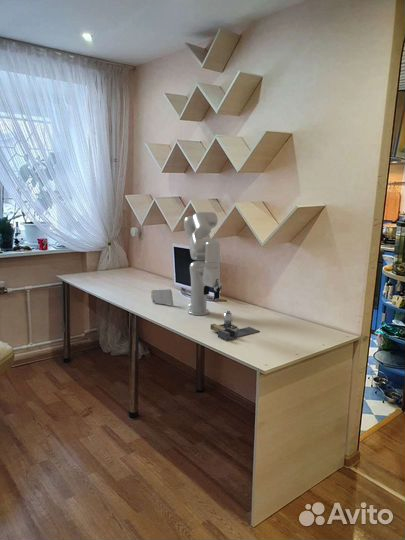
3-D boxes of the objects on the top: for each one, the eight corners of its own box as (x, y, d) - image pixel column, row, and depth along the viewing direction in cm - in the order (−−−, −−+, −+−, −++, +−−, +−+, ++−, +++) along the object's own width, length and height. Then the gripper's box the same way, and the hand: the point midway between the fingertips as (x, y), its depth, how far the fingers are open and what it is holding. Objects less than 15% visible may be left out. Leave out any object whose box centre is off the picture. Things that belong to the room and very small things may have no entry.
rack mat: (228, 332, 214) (228, 332, 214) (249, 327, 223) (249, 326, 223) (238, 337, 208) (238, 336, 207) (259, 331, 216) (259, 330, 216)
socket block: (217, 337, 207) (218, 329, 206) (228, 334, 211) (228, 327, 211) (226, 341, 202) (226, 333, 201) (237, 338, 206) (237, 331, 205)
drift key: (210, 329, 215) (210, 324, 215) (214, 328, 217) (214, 323, 216) (222, 334, 207) (222, 329, 207) (226, 333, 209) (226, 328, 209)
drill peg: (222, 327, 223) (222, 311, 221) (227, 325, 225) (228, 309, 224) (227, 329, 220) (227, 312, 218) (232, 327, 222) (233, 311, 220)
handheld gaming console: (154, 305, 270) (173, 305, 263) (152, 306, 268) (171, 306, 260) (152, 288, 269) (171, 288, 262) (150, 289, 266) (169, 289, 259)
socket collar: (217, 326, 223) (217, 325, 223) (228, 324, 228) (228, 322, 228) (226, 330, 217) (226, 329, 217) (237, 327, 222) (237, 326, 222)
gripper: (197, 262, 218) (196, 293, 222) (215, 268, 204) (215, 301, 208) (208, 261, 222) (208, 292, 226) (227, 266, 208) (226, 299, 212)
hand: (211, 296), depth 217 cm, fingers open, 9 cm apart
